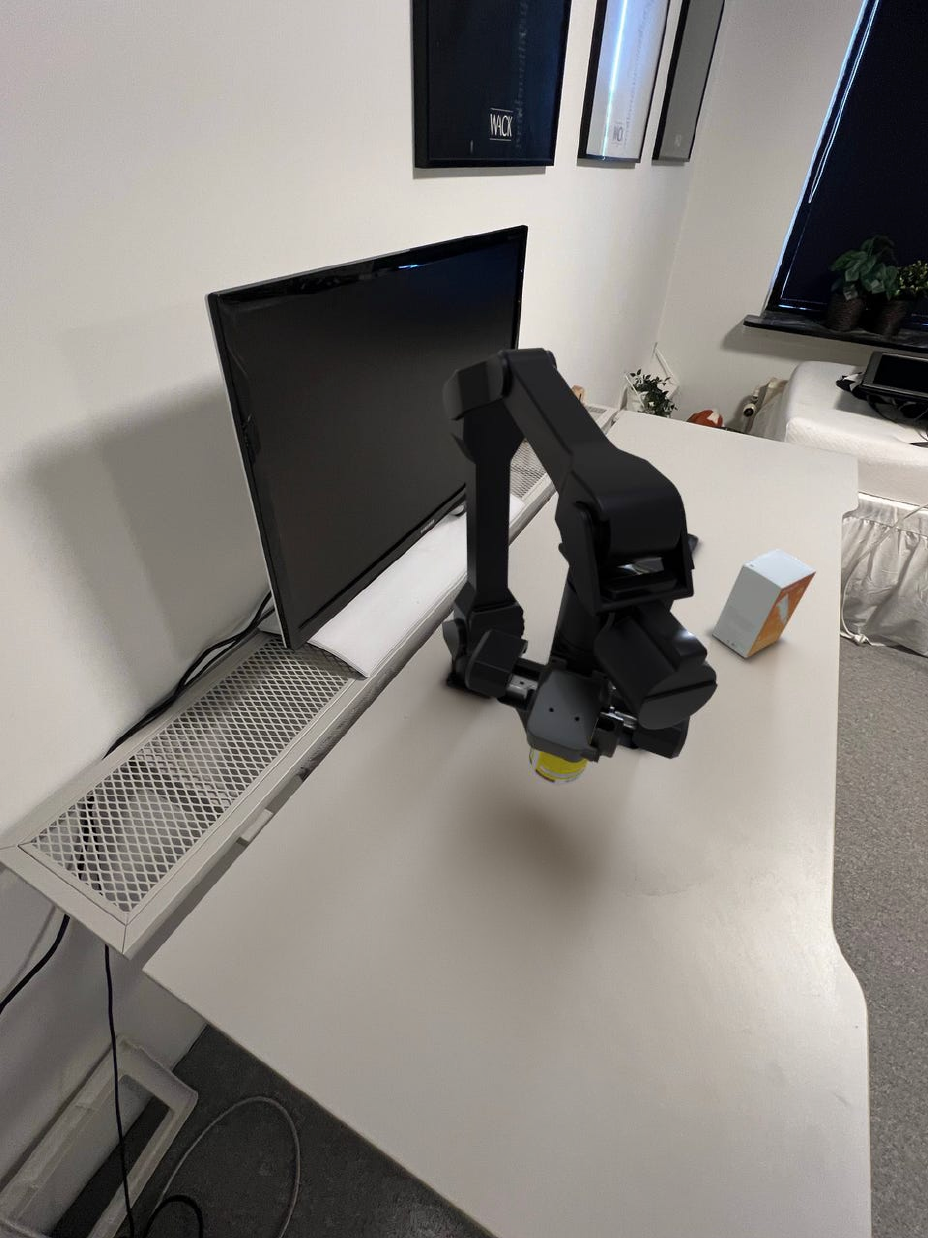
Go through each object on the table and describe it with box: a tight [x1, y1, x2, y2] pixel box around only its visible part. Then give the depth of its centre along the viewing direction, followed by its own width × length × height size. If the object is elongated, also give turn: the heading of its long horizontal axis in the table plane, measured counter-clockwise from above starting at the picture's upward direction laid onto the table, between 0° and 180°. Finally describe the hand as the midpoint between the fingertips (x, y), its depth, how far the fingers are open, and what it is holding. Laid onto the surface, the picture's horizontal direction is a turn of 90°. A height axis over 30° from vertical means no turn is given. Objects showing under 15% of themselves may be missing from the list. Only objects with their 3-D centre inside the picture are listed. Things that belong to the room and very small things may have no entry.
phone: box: [631, 532, 699, 574], centre depth 104 cm, size 8×1×15 cm
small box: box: [711, 548, 817, 659], centre depth 84 cm, size 8×6×13 cm
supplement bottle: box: [528, 719, 598, 786], centre depth 55 cm, size 6×6×10 cm
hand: (560, 747), depth 57 cm, fingers closed on supplement bottle, 5 cm apart
